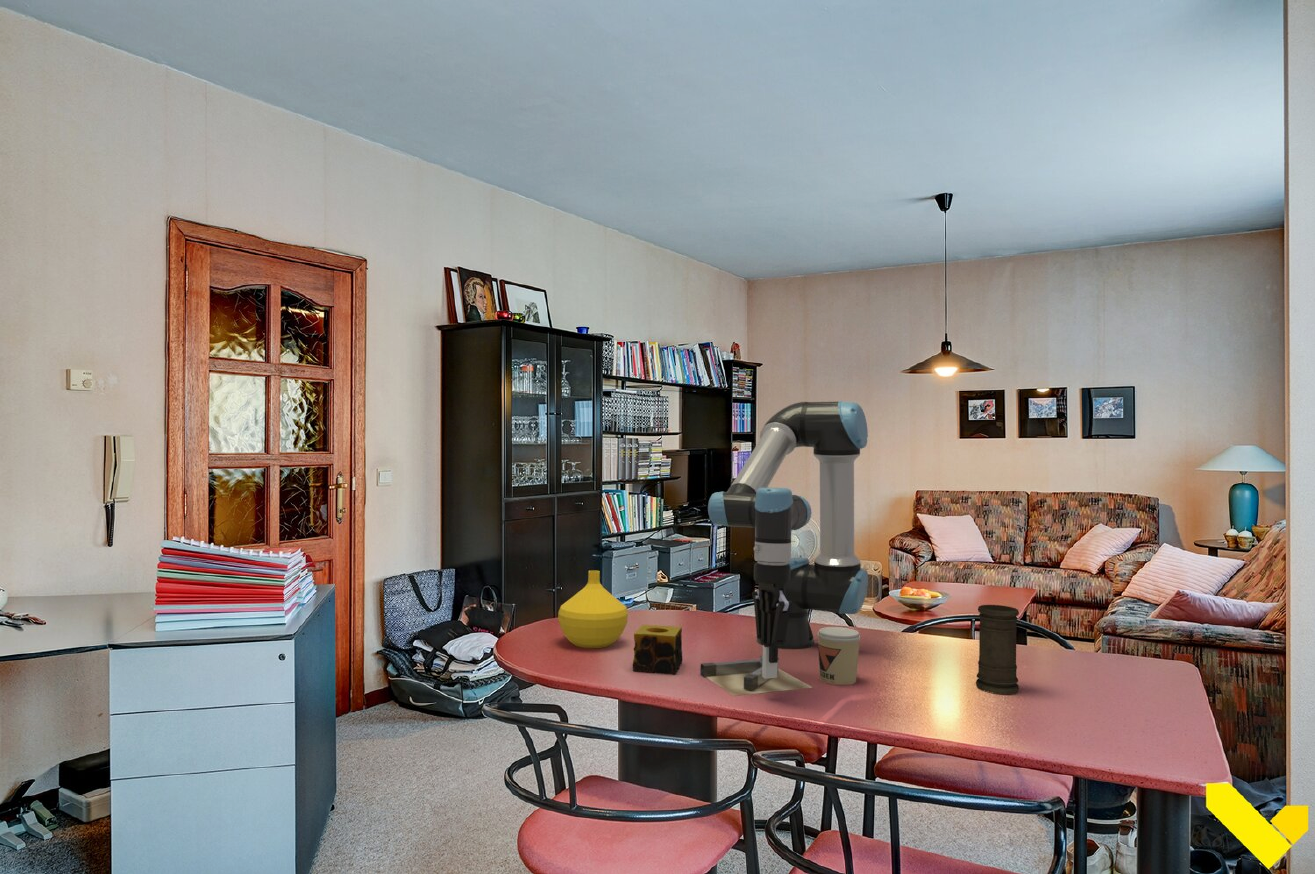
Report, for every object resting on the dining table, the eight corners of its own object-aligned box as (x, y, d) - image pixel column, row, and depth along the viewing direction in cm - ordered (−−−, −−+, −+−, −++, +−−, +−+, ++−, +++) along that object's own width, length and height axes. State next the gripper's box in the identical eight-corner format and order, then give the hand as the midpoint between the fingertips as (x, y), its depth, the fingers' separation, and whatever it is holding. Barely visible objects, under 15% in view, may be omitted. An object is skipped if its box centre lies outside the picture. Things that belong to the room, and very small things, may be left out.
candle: (675, 680, 184) (676, 636, 184) (631, 677, 186) (632, 633, 186) (683, 668, 194) (683, 626, 194) (641, 665, 196) (642, 623, 196)
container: (1000, 697, 176) (1001, 613, 176) (966, 685, 184) (968, 605, 184) (1028, 691, 180) (1029, 610, 180) (994, 680, 188) (995, 602, 188)
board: (774, 671, 192) (774, 666, 192) (813, 693, 176) (813, 687, 176) (700, 678, 185) (700, 673, 185) (733, 701, 169) (733, 695, 169)
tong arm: (765, 668, 190) (765, 649, 190) (781, 670, 188) (782, 652, 188) (734, 687, 174) (734, 667, 174) (752, 690, 172) (752, 670, 172)
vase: (588, 632, 228) (590, 563, 228) (641, 642, 217) (642, 570, 217) (543, 644, 213) (544, 571, 213) (596, 656, 202) (598, 579, 202)
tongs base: (771, 668, 191) (771, 654, 191) (781, 673, 186) (782, 659, 186) (700, 674, 184) (700, 660, 184) (709, 680, 180) (709, 666, 180)
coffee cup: (808, 681, 185) (809, 628, 185) (842, 677, 189) (843, 625, 189) (832, 693, 176) (833, 637, 176) (868, 688, 180) (869, 634, 180)
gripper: (741, 558, 173) (739, 670, 173) (771, 567, 161) (768, 687, 161) (772, 557, 176) (770, 667, 176) (804, 566, 164) (802, 684, 163)
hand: (769, 677), depth 168 cm, fingers closed
